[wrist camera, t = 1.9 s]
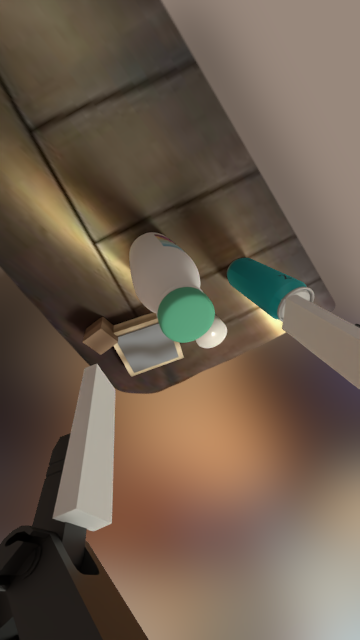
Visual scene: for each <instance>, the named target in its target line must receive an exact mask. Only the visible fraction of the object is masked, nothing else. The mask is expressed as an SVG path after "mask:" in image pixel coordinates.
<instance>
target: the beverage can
mask: <svg viewBox="0 0 360 640" xmlns="http://www.w3.org/2000/svg"><path fill="white" fill-rule="evenodd" d="M227 278H228V281H229V283H230V284H231V285H232V286H233V287H234V288H235V289H237V290H238V291H239V292H241V293H242V294H243V295H244V296H246V297H247V298H248V299H250V300H251V301H252V302H254V303H255V304H256V305H257V306H259V307H260V308H261V309H263V310H264V311H265V312H267V313H268V314H269V315H270V316H272V317H273V318H275V319H280V320H281V321H282V322H283V318H284V310H285V303H286V298H287V297H290V296H293V295H298V296H300V297H302V298H304V299H306V300H308V301H310V302H311V303H313V301H314V292H313V291H312V290H311V289H310V288H308V287H306V285H305V284H304V283H303V282H301V281H299V280H297V279H295V278H292V277H290V276H288V275H286V274H284V273H281V272H279V271H277V270H275V269H272V268H270V267H268V266H266V265H264V264H261V263H259V262H257V261H255V260H253V259H250V258H240V259H236V260H234V261H233V262H232V263H231V264H230V265H229V267H228V270H227Z"/></svg>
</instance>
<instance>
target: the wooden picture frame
mask: <svg viewBox="0 0 360 640" xmlns="http://www.w3.org/2000/svg"><path fill="white" fill-rule="evenodd" d="M113 333H114V334H115V335H116V336H117V338H118V343H116V344H115V345H114V348H115V350H116V351H117V353H118V355H119V356H120V358H121V360H122V361H123V363H124V365H125V367H126V368H127V370H128V372H129V373H130V375H131V376H134V375H137V374H140V373H142V372H145V371H148V370H151V369H153V368H156V367H159V366H162V365H164V364H167V363H170V362H173V361H176V360H178V359H181V358H184V357H183V354H182V350H181V347H180V344H179V342H175V341H173V340H171V339H169V338H168V337H166V335H165V334H164V333H163V332H162V330H161V328H160V325H159V322H158V319H157V316H156V313H154V312H153V313H150V314H147V315H144V316H141V317H138V318H135V319H132V320H129V321H126V322H123V323H120V324H117V325H114V329H113Z"/></svg>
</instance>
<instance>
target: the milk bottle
mask: <svg viewBox="0 0 360 640" xmlns="http://www.w3.org/2000/svg"><path fill="white" fill-rule="evenodd" d="M129 263H130V269H131V276H132V281H133V285H134V289H135V292H136V294H137V296H138V298H139V300H140V301H141V302H142V303H143V305H144V306H145V307H146V308H148V309H149V310H150V311H152V312H154V313H156V316H157V319H158V322H159V325H160V328H161V330H162V332H163V333H164V334H165V335H166V337H168V338H169V339H171V340H173V341H175V342H190V341H194V340H196V339H198V338H200V337H201V336H203V335H204V334H205V333H206V332H207V331H208V330H209V329H210V327H211V326H212V324H213V321H214V317H215V310H214V307H213V304H212V302H211V301H210V299H209V298H208V297H207V296H206V295H205V294H204V292H203V291H202V290H201V289H200V277H199V273H198V270H197V267H196V265H195V264H194V262H193V261H192V259H191V258H190V257H189V256H188V255H187V254H186V253H185V252H184V251H183V250H182V249H181V248H180V247H178V246H177V245H176V244H175V243H174V242H172V241H171V240H170V239H169V238H167V237H166V236H164V235H162V234H160V233H155V232H150V233H145V234H143V235H141V236H139V237H138V238H137V239H136V240H135V241H134V242H133V244H132V246H131V248H130V252H129Z"/></svg>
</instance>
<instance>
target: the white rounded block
mask: <svg viewBox="0 0 360 640" xmlns="http://www.w3.org/2000/svg"><path fill="white" fill-rule="evenodd" d="M226 334H227V328H226V326H225V324H224V323H223V322H222V321H221V320H220V318H219V317H218V316H217V315H215V317H214V321H213V324H212V326H211V327H210V329H209V330H208V331H207V332H206V333H205V334H204V335H203V336H201V337H200V338H198V339H196V342H197V344H198V345H199V346H201V347H203V348H212V347H215V346H217V345H218V344H220V343H221V342H222V341H223V340H224V338H225V337H226Z"/></svg>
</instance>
